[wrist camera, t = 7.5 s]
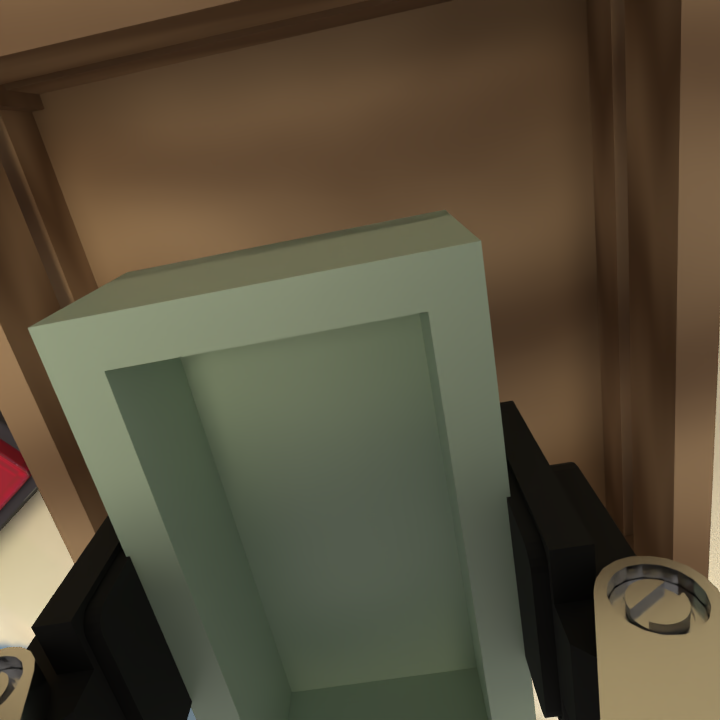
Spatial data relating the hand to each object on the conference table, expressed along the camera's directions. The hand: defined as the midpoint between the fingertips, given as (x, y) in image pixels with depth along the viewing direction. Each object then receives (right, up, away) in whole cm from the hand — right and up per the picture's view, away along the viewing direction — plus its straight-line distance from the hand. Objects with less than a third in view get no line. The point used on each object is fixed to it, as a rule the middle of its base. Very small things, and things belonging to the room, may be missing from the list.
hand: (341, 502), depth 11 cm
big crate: (0, +4, +9) cm, 10 cm away
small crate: (0, 0, 0) cm, 0 cm away
